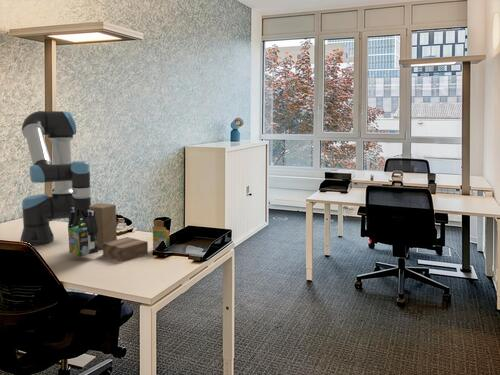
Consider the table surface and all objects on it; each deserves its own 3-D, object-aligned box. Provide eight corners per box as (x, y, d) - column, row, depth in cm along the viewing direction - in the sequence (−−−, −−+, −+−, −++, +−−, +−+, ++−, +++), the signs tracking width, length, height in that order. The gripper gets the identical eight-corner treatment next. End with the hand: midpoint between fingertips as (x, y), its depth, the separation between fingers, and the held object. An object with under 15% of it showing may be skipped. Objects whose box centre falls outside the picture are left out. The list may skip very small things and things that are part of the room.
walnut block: (103, 256, 207) (102, 243, 206) (127, 249, 218) (127, 237, 217) (123, 261, 199) (122, 248, 198) (147, 254, 210) (147, 241, 209)
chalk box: (87, 248, 209) (86, 216, 206) (98, 252, 203) (97, 219, 201) (68, 252, 201) (66, 220, 199) (79, 257, 196) (78, 223, 193)
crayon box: (169, 250, 216) (169, 226, 214) (166, 251, 213) (166, 227, 212) (156, 248, 218) (155, 224, 217) (152, 250, 216) (152, 226, 214)
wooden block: (103, 249, 216) (101, 208, 213) (86, 246, 220) (85, 206, 217) (117, 244, 225) (116, 204, 222) (101, 242, 229) (100, 202, 226)
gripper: (57, 195, 201) (59, 244, 204) (91, 201, 189) (93, 253, 193) (71, 193, 207) (74, 240, 210) (106, 198, 196) (107, 248, 199)
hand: (83, 246), depth 202 cm, fingers closed on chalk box, 9 cm apart
